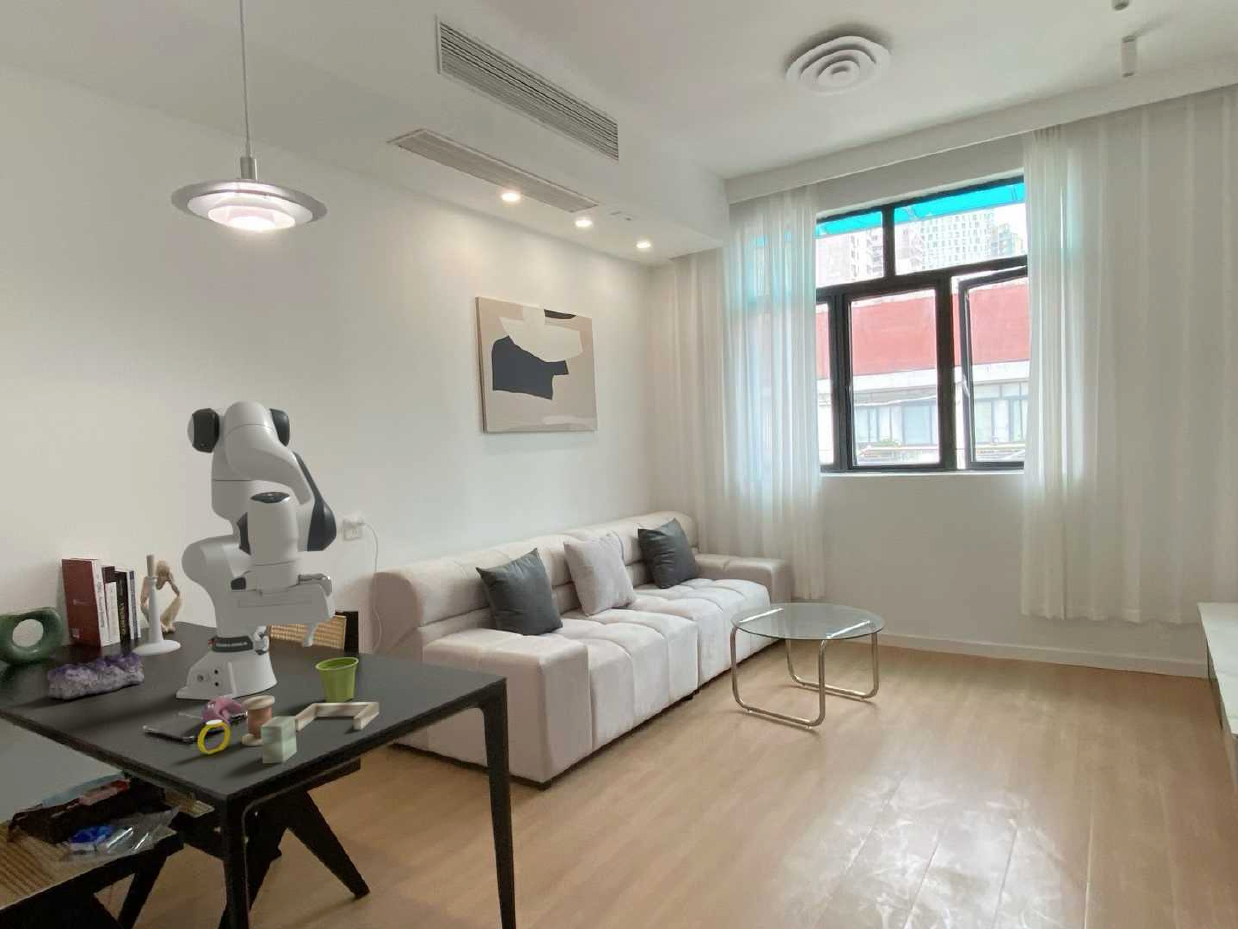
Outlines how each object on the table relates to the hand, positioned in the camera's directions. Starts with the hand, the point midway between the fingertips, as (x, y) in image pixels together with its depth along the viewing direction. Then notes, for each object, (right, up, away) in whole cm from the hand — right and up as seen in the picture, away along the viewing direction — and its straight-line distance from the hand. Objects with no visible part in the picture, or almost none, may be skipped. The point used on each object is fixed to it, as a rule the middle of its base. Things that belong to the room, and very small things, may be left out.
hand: (283, 647), depth 144 cm
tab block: (0, -21, -1) cm, 21 cm away
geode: (-69, -23, +48) cm, 87 cm away
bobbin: (-9, -21, +9) cm, 24 cm away
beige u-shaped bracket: (+4, -20, +16) cm, 26 cm away
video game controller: (-21, -22, +19) cm, 36 cm away
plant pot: (-1, -20, +31) cm, 37 cm away
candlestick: (-78, -22, +86) cm, 118 cm away
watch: (-15, -22, +3) cm, 27 cm away
